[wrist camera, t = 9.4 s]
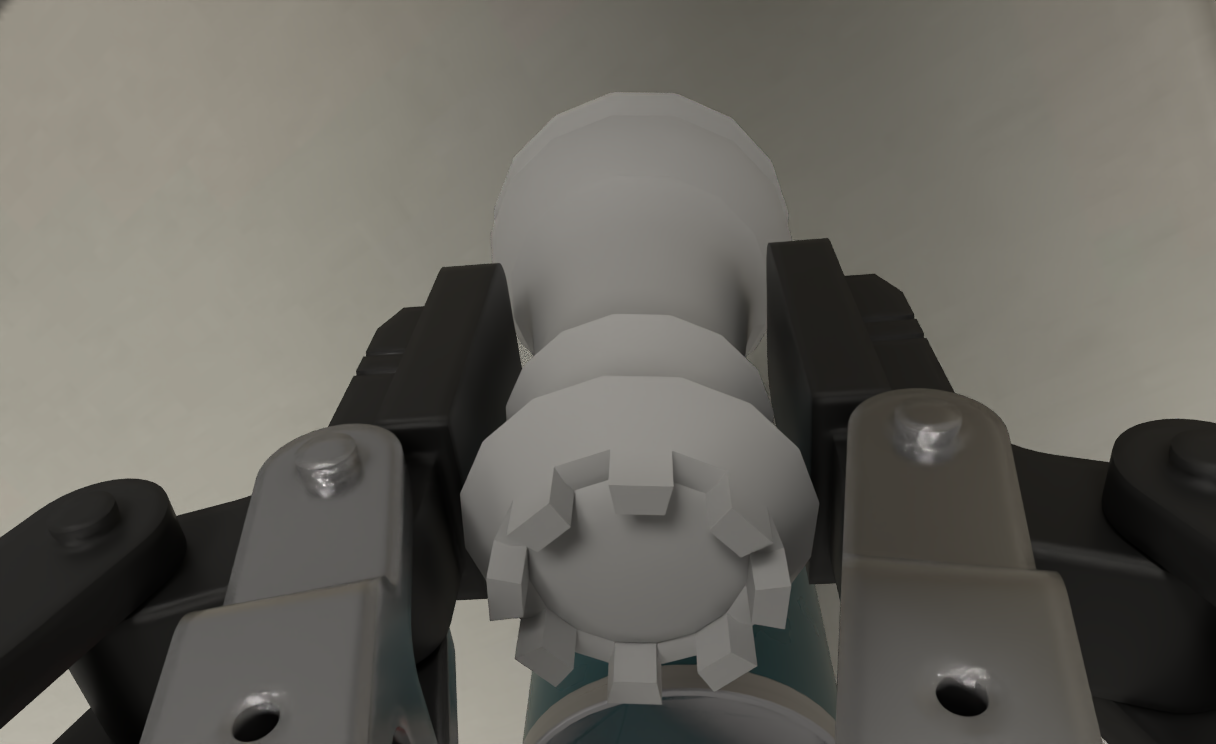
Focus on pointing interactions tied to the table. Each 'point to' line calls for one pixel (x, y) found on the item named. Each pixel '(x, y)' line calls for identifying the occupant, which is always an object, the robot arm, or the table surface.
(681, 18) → the table surface
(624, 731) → the tin can
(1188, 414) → the table surface
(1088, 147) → the table surface
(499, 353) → the robot arm
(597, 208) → the rook chess piece
